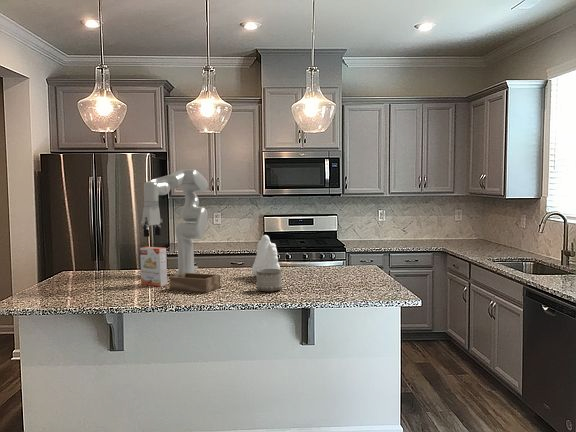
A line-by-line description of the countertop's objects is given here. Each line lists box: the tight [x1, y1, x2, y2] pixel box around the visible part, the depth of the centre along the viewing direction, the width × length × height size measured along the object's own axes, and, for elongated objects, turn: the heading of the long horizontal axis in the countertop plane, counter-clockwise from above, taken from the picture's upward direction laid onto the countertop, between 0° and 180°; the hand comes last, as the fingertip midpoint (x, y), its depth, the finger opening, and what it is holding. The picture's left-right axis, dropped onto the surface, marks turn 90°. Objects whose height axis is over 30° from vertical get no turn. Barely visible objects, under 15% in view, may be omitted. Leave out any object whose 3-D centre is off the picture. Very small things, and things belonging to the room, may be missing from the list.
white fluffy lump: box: [251, 234, 281, 277], centre depth 295 cm, size 25×16×25 cm, turn 10°
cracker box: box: [139, 246, 168, 288], centre depth 281 cm, size 14×6×21 cm, turn 62°
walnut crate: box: [169, 272, 221, 294], centre depth 269 cm, size 14×22×7 cm, turn 67°
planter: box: [256, 268, 282, 293], centre depth 263 cm, size 13×13×10 cm
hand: (152, 235), depth 279 cm, fingers open, 9 cm apart
